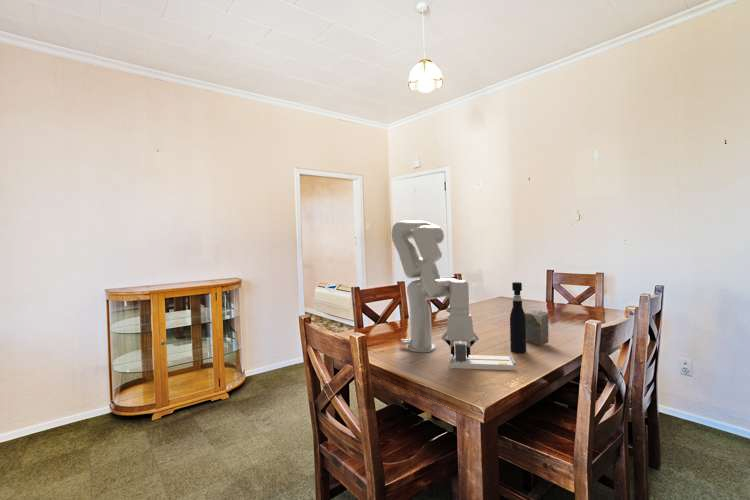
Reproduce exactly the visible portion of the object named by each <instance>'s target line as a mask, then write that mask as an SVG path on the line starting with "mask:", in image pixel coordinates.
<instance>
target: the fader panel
mask: <svg viewBox="0 0 750 500" xmlns="http://www.w3.org/2000/svg"><path fill="white" fill-rule="evenodd" d="M449 356H450V362H449V363H450V369H466V370H467V369H468V370H469V369H470V370H473V369H474V370H493V371H495V370H497V371H498V370H499V371H516V370H517V363H516V361H515V359H514V357H513V355H512V354H510V353H509V354H508V355H507V356H506V355H484V354H483V355H481V354H479V355H478V354H477V355H476V354H475V355H474V354H470V355H469V358H467V354H466V361H456V358H455V357H453V354H451V352H450V355H449Z"/></svg>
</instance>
